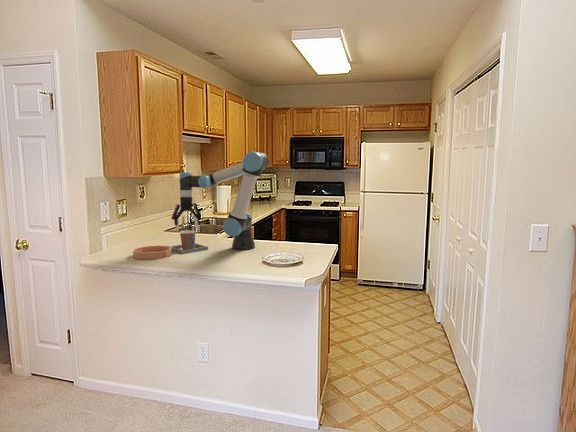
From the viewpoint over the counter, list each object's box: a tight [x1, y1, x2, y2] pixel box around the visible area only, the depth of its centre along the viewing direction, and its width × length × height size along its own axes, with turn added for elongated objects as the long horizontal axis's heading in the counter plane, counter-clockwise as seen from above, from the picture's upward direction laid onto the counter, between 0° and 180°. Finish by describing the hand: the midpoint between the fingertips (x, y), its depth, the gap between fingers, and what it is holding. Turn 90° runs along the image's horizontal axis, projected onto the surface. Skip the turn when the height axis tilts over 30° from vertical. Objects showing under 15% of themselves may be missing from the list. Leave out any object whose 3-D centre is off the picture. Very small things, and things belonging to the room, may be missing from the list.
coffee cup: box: [179, 229, 196, 250], centre depth 258 cm, size 10×10×12 cm
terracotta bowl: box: [132, 245, 173, 261], centre depth 242 cm, size 22×22×4 cm
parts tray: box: [170, 242, 209, 255], centre depth 259 cm, size 18×18×2 cm
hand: (187, 229), depth 257 cm, fingers open, 13 cm apart
